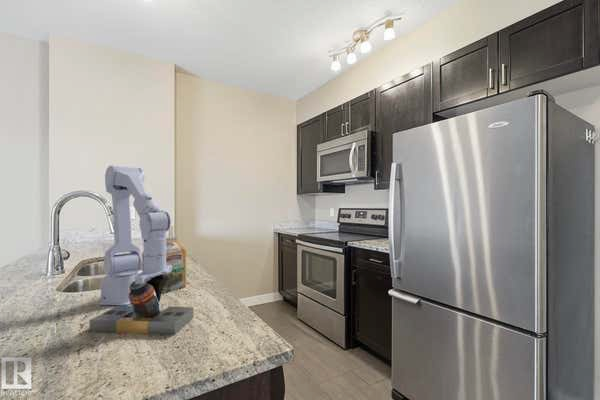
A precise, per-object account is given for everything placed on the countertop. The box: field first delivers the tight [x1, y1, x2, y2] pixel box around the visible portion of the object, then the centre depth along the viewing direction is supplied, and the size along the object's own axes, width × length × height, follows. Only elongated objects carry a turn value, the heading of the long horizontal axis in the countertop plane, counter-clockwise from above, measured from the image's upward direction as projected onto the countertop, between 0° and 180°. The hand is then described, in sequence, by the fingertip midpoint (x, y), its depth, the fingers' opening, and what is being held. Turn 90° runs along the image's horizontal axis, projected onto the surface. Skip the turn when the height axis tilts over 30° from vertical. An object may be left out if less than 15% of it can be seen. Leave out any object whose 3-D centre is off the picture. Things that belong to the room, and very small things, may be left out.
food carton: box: [141, 236, 187, 295], centre depth 106 cm, size 11×11×19 cm
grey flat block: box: [88, 305, 194, 335], centre depth 75 cm, size 22×10×3 cm, turn 86°
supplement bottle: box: [129, 280, 162, 318], centre depth 75 cm, size 6×6×11 cm
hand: (154, 303), depth 79 cm, fingers closed
